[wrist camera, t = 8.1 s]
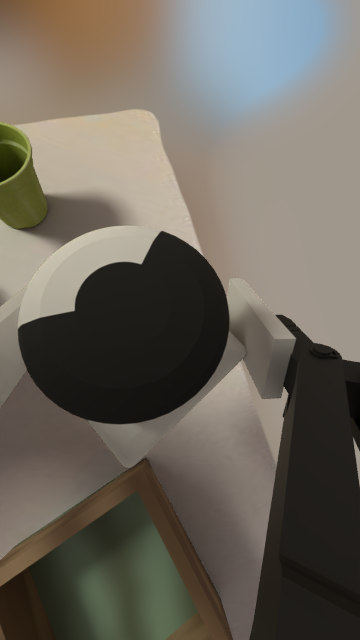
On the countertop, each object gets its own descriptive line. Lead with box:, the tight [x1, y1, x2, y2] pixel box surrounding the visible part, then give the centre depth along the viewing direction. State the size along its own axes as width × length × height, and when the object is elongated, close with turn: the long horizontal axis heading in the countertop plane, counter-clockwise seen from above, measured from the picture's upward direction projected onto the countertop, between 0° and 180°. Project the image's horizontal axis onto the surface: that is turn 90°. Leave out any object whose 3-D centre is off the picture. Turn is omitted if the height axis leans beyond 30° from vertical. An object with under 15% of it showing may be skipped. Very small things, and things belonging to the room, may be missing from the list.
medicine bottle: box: [18, 226, 246, 468], centre depth 13 cm, size 7×7×12 cm
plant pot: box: [0, 122, 47, 229], centre depth 32 cm, size 9×9×9 cm
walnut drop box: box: [0, 458, 233, 640], centre depth 22 cm, size 14×14×6 cm
